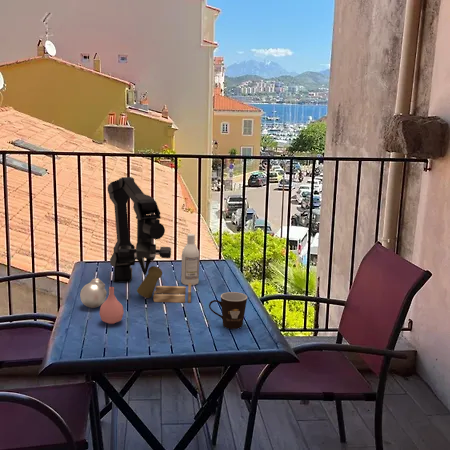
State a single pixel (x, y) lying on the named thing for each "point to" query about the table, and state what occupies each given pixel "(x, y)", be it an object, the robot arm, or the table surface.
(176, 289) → the cradle
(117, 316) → the pink bulb vase
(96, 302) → the silver christmas ornament
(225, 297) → the coffee mug
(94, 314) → the table surface
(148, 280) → the cork
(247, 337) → the table surface
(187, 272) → the bath foam
